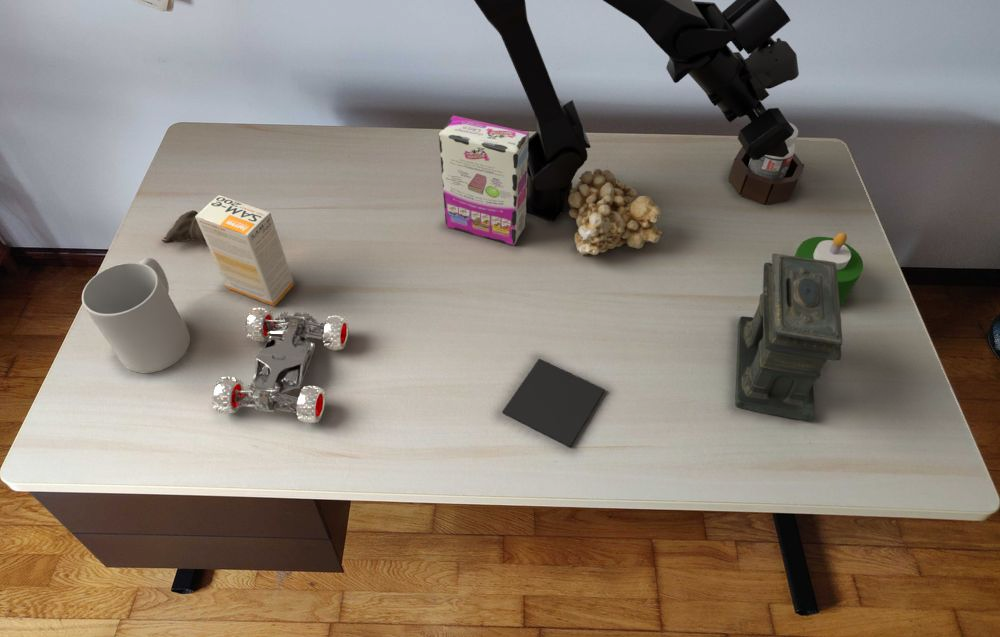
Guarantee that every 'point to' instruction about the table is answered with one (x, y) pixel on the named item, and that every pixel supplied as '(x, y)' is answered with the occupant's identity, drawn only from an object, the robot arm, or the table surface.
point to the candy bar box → (484, 178)
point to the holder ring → (764, 181)
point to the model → (789, 337)
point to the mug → (137, 315)
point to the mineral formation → (611, 214)
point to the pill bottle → (774, 161)
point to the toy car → (282, 365)
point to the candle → (835, 259)
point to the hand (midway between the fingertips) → (772, 135)
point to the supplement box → (246, 249)
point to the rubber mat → (554, 402)
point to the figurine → (185, 229)
